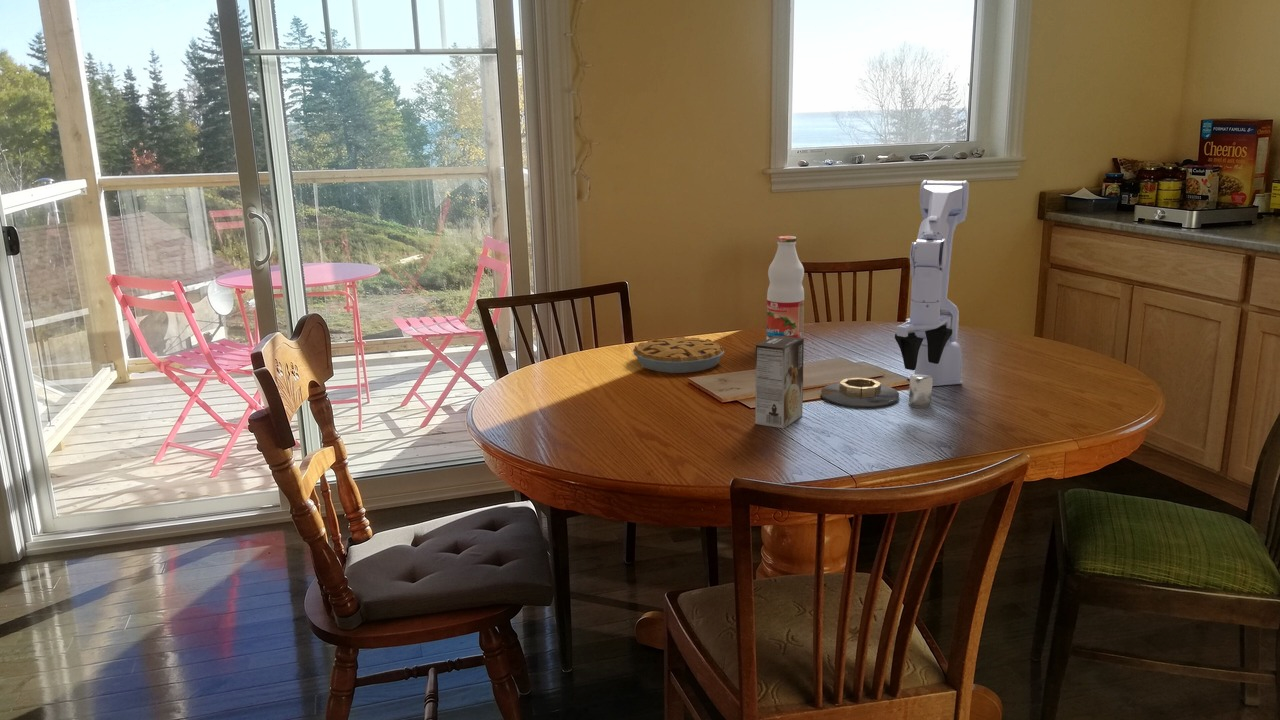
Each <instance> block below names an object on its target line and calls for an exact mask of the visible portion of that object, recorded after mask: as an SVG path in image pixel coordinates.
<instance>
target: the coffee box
mask: <svg viewBox="0 0 1280 720" xmlns="http://www.w3.org/2000/svg"><path fill="white" fill-rule="evenodd" d="M804 341H805V339H804V337H803V338H794V337H785V336H773V337H771V338H769V339H767V338H766V339H765V340H763V341H761V342H759V343H757V344H755V400H754V401H755V404H754V405H755V409H754V411H755V415H754V417H755V419H754V420H755V425H760V426H765V427H772V428H779V429H785V428H787V427H788V426H790V425H791V424H792V423H794V422H795V421H797V420H798V419H799V418H801V417H803V404H804V403H803V401H804V400H803V399H804V398H803V397H804V395H803V394H804V347H805V346H804V345H805V343H804Z"/></svg>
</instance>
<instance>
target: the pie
mask: <svg viewBox="0 0 1280 720" xmlns="http://www.w3.org/2000/svg"><path fill="white" fill-rule="evenodd" d="M724 354H725V351H724V349H723V345H721V343H719V342H713V341H712V339H709V338H707V339H700V338H699V337H690V338H689V337H684V336H677V337H673V338H672V337H671V338H669V337H660V339H655V338H652V339H649V340H647V341H646V342H643V341H641V342H639V343H638V345H635V346H634V349H633V355H634V356H635V357H636V358H637V360H638V363H639V364H640V366H642V367H644V368H646V370H647V369H648V370H650V371H651V370H652V371H656V372H660V373H661V372H662V373H670V374H676V373H677V374H678V373H679V374H682V373H692V372H699V371H700V372H701V371H704V370H707V369H711V368H714V367H715V366H717V365H719V362H720V360H721V358H722V356H723V355H724Z"/></svg>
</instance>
